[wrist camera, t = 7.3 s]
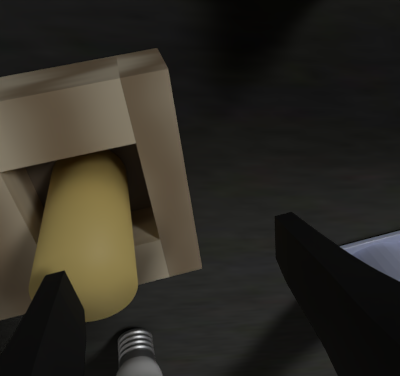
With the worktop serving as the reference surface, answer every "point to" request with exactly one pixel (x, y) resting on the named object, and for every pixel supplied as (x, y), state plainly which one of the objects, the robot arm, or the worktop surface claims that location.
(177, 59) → the worktop surface
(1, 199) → the socket block
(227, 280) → the worktop surface
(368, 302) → the robot arm
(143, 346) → the lightbulb
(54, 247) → the dowel
